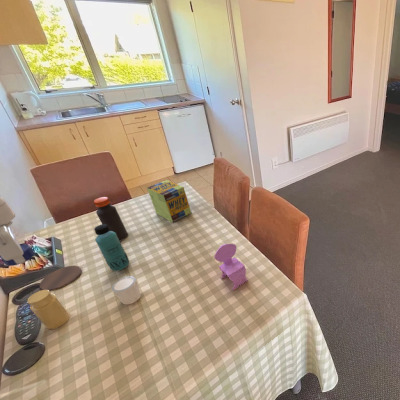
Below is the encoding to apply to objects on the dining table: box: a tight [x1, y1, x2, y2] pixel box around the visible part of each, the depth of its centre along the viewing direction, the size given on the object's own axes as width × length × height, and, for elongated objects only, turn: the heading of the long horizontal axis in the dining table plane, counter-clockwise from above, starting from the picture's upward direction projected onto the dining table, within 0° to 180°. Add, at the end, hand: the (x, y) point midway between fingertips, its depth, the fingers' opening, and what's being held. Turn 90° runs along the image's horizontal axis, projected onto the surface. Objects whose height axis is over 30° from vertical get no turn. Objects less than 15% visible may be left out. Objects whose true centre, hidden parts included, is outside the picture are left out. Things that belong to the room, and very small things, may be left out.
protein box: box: [146, 179, 192, 223], centre depth 134 cm, size 10×15×16 cm
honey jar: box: [26, 289, 71, 330], centre depth 81 cm, size 6×6×12 cm
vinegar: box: [93, 196, 129, 242], centre depth 116 cm, size 7×7×20 cm
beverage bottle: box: [94, 223, 130, 272], centre depth 99 cm, size 6×7×20 cm
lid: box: [0, 243, 35, 267], centre depth 77 cm, size 6×6×3 cm
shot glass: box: [111, 275, 142, 306], centre depth 90 cm, size 7×7×7 cm
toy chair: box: [214, 243, 248, 291], centre depth 94 cm, size 8×9×15 cm
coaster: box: [39, 265, 83, 292], centre depth 100 cm, size 12×12×1 cm
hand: (18, 256), depth 77 cm, fingers closed on lid, 6 cm apart
